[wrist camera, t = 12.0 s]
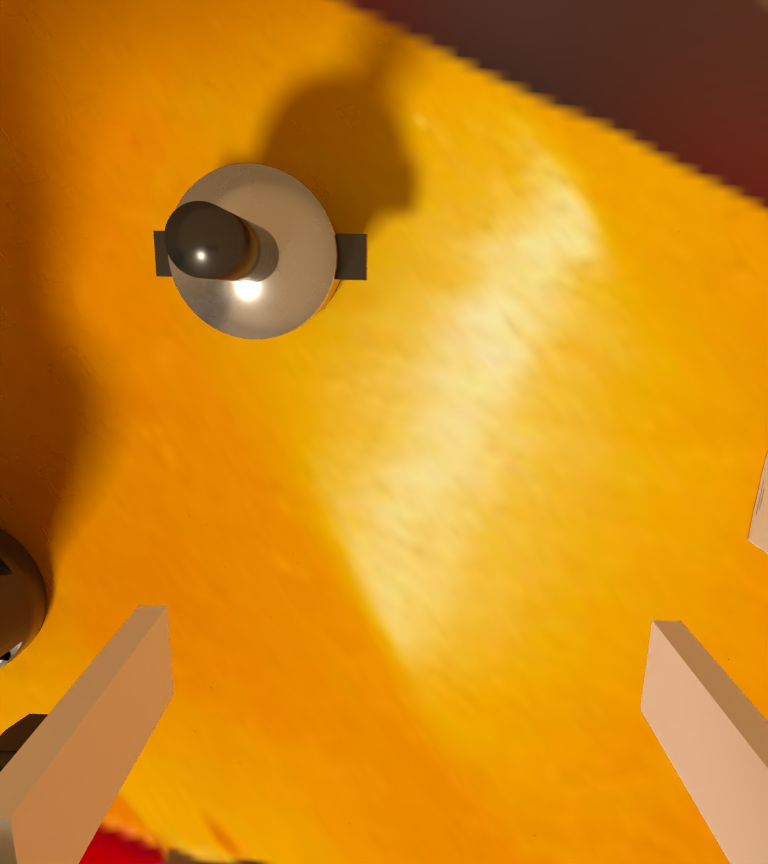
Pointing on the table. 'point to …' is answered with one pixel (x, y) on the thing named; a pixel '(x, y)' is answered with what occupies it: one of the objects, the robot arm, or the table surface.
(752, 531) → the ink box
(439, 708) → the table surface
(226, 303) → the lid
